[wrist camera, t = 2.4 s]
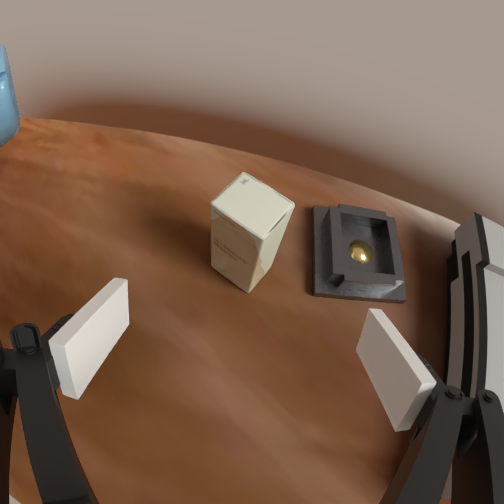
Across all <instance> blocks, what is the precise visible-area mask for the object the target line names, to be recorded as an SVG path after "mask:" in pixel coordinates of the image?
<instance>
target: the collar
mask: <svg viewBox="0 0 504 504" xmlns="http://www.w3.org/2000/svg"><path fill="white" fill-rule="evenodd" d="M312 255H313V282H312V296H316V297H327V298H338V299H349V300H361V301H374V302H387V303H401V304H402V303H404V302H405V301H407V299H406V290H405V278H404V270H403V263H402V257H401V250H400V244H399V238H398V233H397V227H396V222H395V218H393V217H388V216H386V213H385V212H382V211H377V210H372V209H366V208H361V207H355V206H350V205H344V204H339V205H338V207H331V206H330V207H329V208H328V207H321V206H315V205H314V206H313V208H312Z"/></svg>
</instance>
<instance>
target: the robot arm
mask: <svg viewBox="0 0 504 504" xmlns="http://www.w3.org/2000/svg"><path fill="white" fill-rule="evenodd" d="M19 126H20V117H19V111H18V106H17V101H16V96H15V91H14V86H13V81H12V76H11V71H10V66H9V61H8V56H7V53H6V48H5V46H3V45H1V46H0V147H1V146H2V145H4V144H5V143H6V142H8V141H9V140H11V139H12V138H13V137H14V136H15V135H16V134H17V132H18V130H19ZM128 325H129V311H128V283H127V279H121V278H114V279H113V280H112V281H110V282H109V283H108V284H107V285H106V286H105V287H104V288H103V289H102V290H101V291H99V292H98V293H97V294H96V295H95V296H94V297H93V298H92V299H91V300H90V301H89V302H88V303H87V304H86V305H84V306H83V307H82V308H81V309H80V310H79V311H78V312H77V313H76V314H75V315H73V314H68V315H66V316H64V317H62V318H60V319H59V320H58V321H57V322H56V323H55V324H54V325H53V326H52V327H51V329H49V330H48V331H47V332H46V333H45V334H43V335H42V336H40V332H39V329H38V327H37V326H36V325H34V324H30V323H23V324H19V325H17V326H15V327H13V328H12V329H11V331H10V338H11V341H12V345H13V348H14V350H12V349H4V348H3V347H2V344H1V341H0V504H9V467H10V451H11V440H12V431H13V423H14V415H15V409H16V403H17V397H18V399H19V406H20V413H21V419H22V425H23V430H24V435H25V440H26V445H27V449H28V454H29V458H30V462H31V466H32V469H33V473H34V476H35V480H36V483H37V486H38V489H39V493H40V496H41V499H42V502H43V504H99V502H98V500H97V498H96V496H95V494H94V492H93V490H92V488H91V486H90V484H89V482H88V480H87V477H86V475H85V473H84V470H83V468H82V466H81V463H80V461H79V458H78V456H77V453H76V451H75V448H74V446H73V443H72V440H71V437H70V435H69V432H68V429H67V426H66V423H65V420H64V416H63V413H62V410H61V407H60V403H59V400H58V396H57V393H56V389H57V388H58V386H59V385H60V386H61V390H62V393H63V395H66V396H68V397H71V398H74V399H77V400H78V399H79V398H80V396H81V395H82V393H83V392H84V390H85V388H86V387H87V385H88V384H89V382H90V381H91V379H92V378H93V376H94V375H95V373H96V372H97V370H98V369H99V367H100V366H101V364H102V363H103V361H104V360H105V358H106V357H107V355H108V354H109V352H110V351H111V350H112V348H113V347H114V345H115V344H116V342H117V341H118V339H119V338H120V337H121V335H122V334H123V332H124V331H125V329H126V328H127V327H128ZM356 352H357V354H358V356H359V358H360V360H361V361H362V364H363V366H364V368H365V370H366V372H367V374H368V376H369V378H370V380H371V382H372V384H373V386H374V388H375V390H376V392H377V394H378V396H379V398H380V400H381V403H382V405H383V407H384V409H385V411H386V413H387V415H388V417H389V420H390V422H391V424H392V426H393V428H394V430H395V432H396V431H403V430H409V429H410V428H411V426H412V425H413V423H414V421H415V420H416V422H417V424H418V428H417V429H416V431H415V432H414V434H413V435H412V437H411V438H410V440H409V441H408V443H410V444H409V446H408V449H407V451H406V453H405V455H404V457H403V459H402V462H401V464H400V466H399V468H398V470H397V472H396V474H395V476H394V478H393V480H392V481H391V483H390V485H389V487H388V489H387V491H386V492H385V494H384V496H383V498H382V500H381V501H380V503H379V504H439V502H440V499H441V496H442V493H443V490H444V487H445V484H446V481H447V478H448V474H449V471H450V468H451V464H452V491H451V504H504V412H503V409H502V406H501V402H500V399H499V397H498V396H497V395H496V394H495V393H494V392H492V391H491V390H487V389H482V390H480V391H479V392H478V394H477V395H476V397H475V398H471V397H465V395H464V393H463V392H462V391H461V390H460V389H459V388H457V387H455V386H451V385H445V384H444V382H443V381H442V380H441V378H440V377H439V376H438V374H437V373H436V372H435V371H434V369H433V368H432V366H430V364H429V362H428V361H427V360H426V359H425V358H424V357H423V356H422V355H420V354H419V353H415V352H414V351H413V350H412V348H411V347H410V346H409V344H408V343H407V342H406V341H405V339H404V338H403V337H402V335H401V334H400V333H399V332H398V330H397V329H396V328H395V326H394V325H393V324H392V323H391V321H390V320H389V319H388V318H387V316H386V315H385V314H384V313H383V311H382V310H381V309H369V310H368V313H367V317H366V320H365V323H364V326H363V330H362V333H361V336H360V339H359V342H358V345H357V348H356Z"/></svg>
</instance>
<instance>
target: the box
mask: <svg viewBox="0 0 504 504" xmlns="http://www.w3.org/2000/svg"><path fill="white" fill-rule="evenodd" d="M294 206H295V204H294V203H293V202H292V201H290V200H289V199H287V198H286V197H284V196H283V195H281V194H280V193H278V192H277V191H275V190H273V189H272V188H270V187H269V186H267V185H265V184H264V183H262V182H260V181H259V180H257V179H255V178H254V177H252V176H250V175H249V174H247V173H245V172H243V173H242V174H241V175H239V176H238V177H237V178H236V179H235V180H234V181H233V182H231V183H230V184H229V185H228V186H227V187H226V188H225V189H224V190H223V191H222V192H221V193H220V194H219V195H218V196H217V197H216V198H215V199H214V200H213V201H212V202H211V266H212V267H213V268H214V269H216V270H217V271H218V272H220V273H221V274H222V275H223V276H225V277H226V278H227V279H229V280H230V281H231V282H233V283H234V284H235V285H237V286H238V287H239V288H241V289H242V290H244V291H245V292H246V293H249V292H250V291H251V290H252V289H253V288H254V287H255V285H256V284H257V283H258V282H259V281H260V280H261V278H262V277H263V276H264V275H265V273H266V272H267V271H268V270H269V268H270V267H271V265H272V263H273V260H274V257H275V255H276V252H277V250H278V247H279V244H280V242H281V239H282V237H283V234H284V232H285V229H286V227H287V224H288V221H289V219H290V216H291V214H292V211H293V209H294Z"/></svg>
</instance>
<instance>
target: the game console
mask: <svg viewBox="0 0 504 504" xmlns="http://www.w3.org/2000/svg"><path fill="white" fill-rule="evenodd" d="M451 243H452V255H451V256H450V257H449V258H448V259H446V260H447V280H448V329H447V349H446V362H445V373H444V384H445V385H451V386H455V387H457V388H459V389H460V390H461V391H462V392H463V393H464V395H465V397H471V398H475V397H476V395H477V394H478V392H479V391H480V390H482V389H487V390H491V391H492V392H494V393H495V394H496V395H497V396H498V397H499V399H500V402H501V406H502V409H503V412H504V227H502V226H500V225H498V224H496V223H494V222H492V221H491V220H489V219H487V218H485V217H483V216H481V215H479V214H477V213H475V212H473V213H472V214H471V215H470V216H469V217H468V218H467V219H466V221H464V223H462V224H461V225H460V226H459V227H458V228H457V229H456V230H455V240H454V241H453V242H451ZM451 491H452V464H451V468H450V471H449V474H448V478H447V481H446V484H445V487H444V490H443V493H442V496H441V497H442V498H446V499H451Z"/></svg>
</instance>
